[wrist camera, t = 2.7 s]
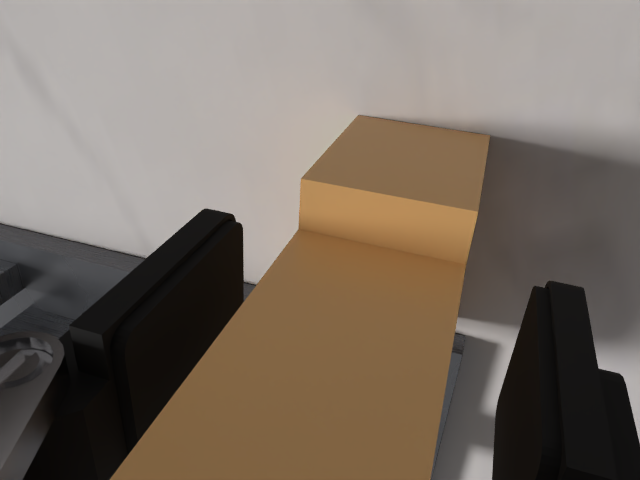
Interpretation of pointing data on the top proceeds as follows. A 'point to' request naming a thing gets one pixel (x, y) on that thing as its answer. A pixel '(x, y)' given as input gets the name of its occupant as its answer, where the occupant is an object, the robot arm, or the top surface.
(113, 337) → the robot arm
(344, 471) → the tan stepped beam
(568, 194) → the top surface
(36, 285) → the slot board
